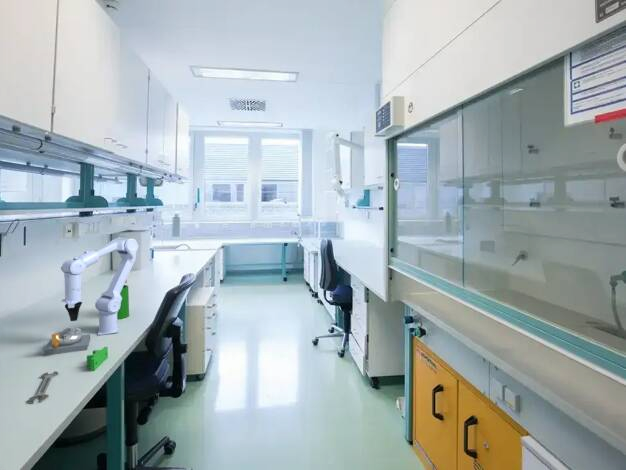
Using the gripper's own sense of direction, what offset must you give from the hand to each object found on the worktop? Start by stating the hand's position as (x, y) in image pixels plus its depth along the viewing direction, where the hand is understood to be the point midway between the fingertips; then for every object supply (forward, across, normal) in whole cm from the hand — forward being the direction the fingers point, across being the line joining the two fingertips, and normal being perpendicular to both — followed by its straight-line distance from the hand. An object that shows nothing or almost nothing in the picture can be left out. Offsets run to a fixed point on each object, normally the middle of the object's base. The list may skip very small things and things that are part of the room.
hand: (74, 320), depth 148 cm
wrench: (+10, +40, -3) cm, 41 cm away
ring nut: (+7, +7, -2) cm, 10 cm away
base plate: (+9, +4, -2) cm, 11 cm away
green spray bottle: (+10, -32, +16) cm, 37 cm away
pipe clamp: (+10, +27, +10) cm, 31 cm away
